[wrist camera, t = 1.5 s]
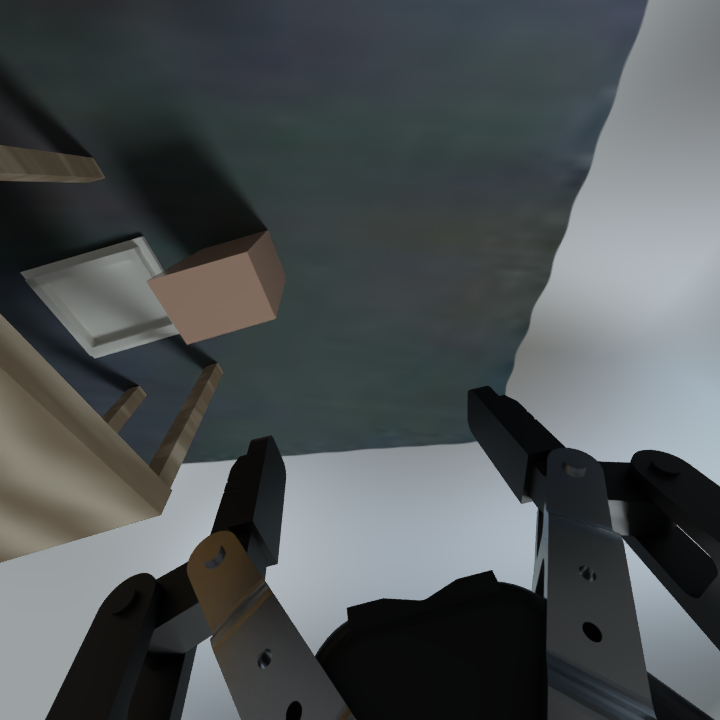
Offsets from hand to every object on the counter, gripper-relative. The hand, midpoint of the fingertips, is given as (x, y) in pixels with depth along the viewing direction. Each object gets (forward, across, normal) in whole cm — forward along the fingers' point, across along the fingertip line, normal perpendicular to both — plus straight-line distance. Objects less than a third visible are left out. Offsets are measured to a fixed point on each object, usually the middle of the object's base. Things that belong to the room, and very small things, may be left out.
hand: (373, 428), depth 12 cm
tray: (+25, +23, -3) cm, 34 cm away
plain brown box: (+25, +9, -4) cm, 26 cm away
